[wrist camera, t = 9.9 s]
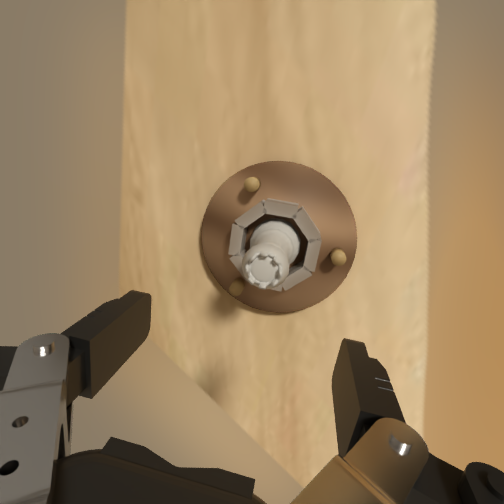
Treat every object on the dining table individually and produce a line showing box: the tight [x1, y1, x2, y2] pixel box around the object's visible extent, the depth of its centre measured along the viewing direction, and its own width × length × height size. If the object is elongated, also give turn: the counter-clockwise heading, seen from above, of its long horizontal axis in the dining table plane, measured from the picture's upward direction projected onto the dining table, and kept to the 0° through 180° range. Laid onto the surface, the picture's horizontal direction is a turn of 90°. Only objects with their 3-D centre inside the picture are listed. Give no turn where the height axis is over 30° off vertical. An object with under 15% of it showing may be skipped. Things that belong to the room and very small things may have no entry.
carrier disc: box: [202, 161, 357, 312], centre depth 26 cm, size 14×14×3 cm
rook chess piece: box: [242, 218, 301, 290], centre depth 23 cm, size 4×4×8 cm
